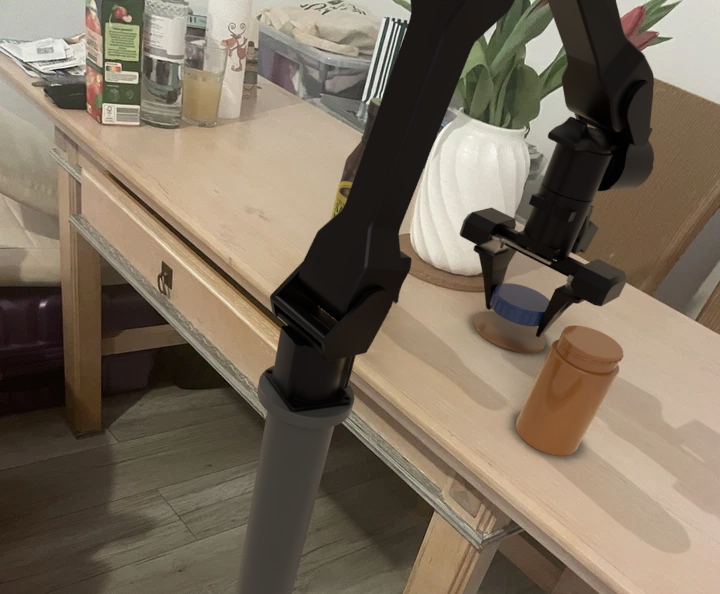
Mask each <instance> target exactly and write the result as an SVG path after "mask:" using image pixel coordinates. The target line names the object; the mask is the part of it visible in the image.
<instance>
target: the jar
mask: <svg viewBox="0 0 720 594" xmlns="http://www.w3.org/2000/svg"><path fill="white" fill-rule="evenodd" d="M624 356H625V355H624V350H623V347H622V346H621V345H620V343H619V342H617V340H615V339H614V338H612V337H611V336H609V335H608V334H606V333H604V332H602V331H600V330H597V329H594V328H592V327H588V326H583V325H568V326H566V327H565V328H563V330H562V332H561V334H560V336H559V338H558V339H556V340H554V341H553V342H552V343H551V345H550V347H549V349H548V351H547V353H546V355H545V358H544V360H543V363H542V364H541V367H540V369H539V371H538V374H537V376H536V378H535V380H534V382H533V385H532V386H531V388H530V391H529V393H528V395H527V397H526V400H525V401H524V403H523V406H522V408H521V410H520V412H519V415H518V417H517V418H516V421H515V429H516V432H517V434H518V436H519V437H520V438H521V439H522V440H523V441H524V442H525V443H526V444H528V445H529V446H531V447H532V448H534V449H536V450H538V451H540V452H542V453H546V454H548V455H553V456H570V455H572V454H574V453H575V452H576V451H577V450H578V448H579V447H580V445H581V443H582V441H583V439H584V437H585V435H586V433H587V432H588V430H589V428H590V426H591V424H592V422H593V421H594V418H595V417H596V415H597V413H598V412H599V409H600V408H601V406H602V404H603V402H604V400H605V398H606V396H607V395H608V393H609V392H610V390H611V387H612V386H613V384H614V382H615V381H616V379H617V376H618V375H619V373H620V366H619V363H620V362H622V360H623V358H624Z"/></svg>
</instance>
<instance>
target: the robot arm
mask: <svg viewBox="0 0 720 594" xmlns="http://www.w3.org/2000/svg"><path fill="white" fill-rule="evenodd" d="M515 1H516V0H410V17H409V20H408V23H407V27H406V29H405V32H404V35H403V38H402V41H401V43H400V47H399V50H398V52H397V55H396V58H395V61H394V64H393V65H392V70H391V72H390V75H389V77H388V81H387V83H386V86H385V90H384V92H383V95H382V101H381V104H380V106H379V109H378V112H377V115H376V118H375V121H374V124H373V126H372V129H371V132H370V135H369V138H368V141H367V143H366V146H365V149H364V152H363V155H362V158H361V161H360V163H359V166H358V169H357V172H356V175H355V178H354V181H353V183H352V186H351V189H350V192H349V195H348V198H347V201H346V203H345V205H344V207H343V209H342V210H341V211H340V212H339V213H338V214H337V215H335V216H334V217H333V218H332V219H331V218H330V219H331V220H330V219H329V221H327V222H326V223H325V224H324V225H323V226H322V227H320V228H319V229H318V230H317V232H316V234H315V236H314V238H313V240H312V242H311V244H310V246H309V249H308V250H307V252H306V255H305V256H304V258H303V260H302V261H301V263H300V264H298V266H296V268H295V269H294V270H293V271H292V272H291V273H290V274H289V275H288V276H287V277H286V278H285V279H284V280H283V281H282V282H281V283H280V285H278V287H277V288H275V290H274V291H273V292H272V293H271V294H270V295H269V301H270V307H271V313H272V315H274V316H275V317H276V318H278V319H280V320H281V321H282V322H283V323H284V324H286V325H281V326H280V330H279V337H278V343H277V347H276V354H275V360H274V365H273V366H274V369H268V368H266V369H264V371H265V373H264V376H265V377H266V379H267V380H268V381H269V383H270V384H271V385H272V387H273V388H274V390H275V391H276V392H277V394H278V395H279V396H280V398H281V399H282V401H283V402H284V403H285V405H286V406H287V407H288V409H289V410H290V411H292V412H302V411H309V410H316V409H323V408H330V407H338V406H345V405H350V404H351V400H352V399H351V397H350V396H349V395H348V394H347V393H346V391H345V390H344V389H345V388H347V387H348V384H349V383H350V380H351V376H352V372H353V368H354V365H355V361H356V356H359V355H362V354H366V353H368V351H369V349H370V347H371V345H372V343H373V342H374V340H375V338H376V336H377V334H378V333H379V331H380V329H381V327H382V326H383V323H384V322H385V320H386V318H387V317H388V314H389V313H390V310H391V308H392V306H393V303H394V304H398V303H399V300H400V293H401V289H402V286H403V284H404V282H405V280H406V278H407V277H408V275H409V273H410V271H411V269H412V258H411V257H410V256H409V255H407V253H405V252H403V251H402V250H401V244H400V230H401V227H402V225H403V222H404V219H405V217H406V214H407V212H408V209H409V207H410V204H411V203H412V200H413V197H414V194H415V192H416V189H417V187H418V184H419V181H420V179H421V177H422V174H423V172H424V169H425V167H426V165H427V162H428V160H429V156H430V154H431V151H432V149H433V146H434V144H435V143H436V139H437V137H438V134H439V131H440V129H441V127H442V124H443V121H444V119H445V117H446V114H447V111H448V109H449V106H450V104H451V102H452V99H453V96H454V93H455V92H456V89H457V86H458V84H459V82H460V79H461V76H462V75H463V71H464V69H465V66H466V64H467V62H468V58H469V56H470V54H471V51H472V49H473V47H474V45H475V43H476V42H477V41H478V40H479V39H480V38H481V37H482V36H484V34H486V33H487V32H488V31H489V30H490V29H491V28H492V27H493V26H494V25H495V24H497V22H498V21H500V20H501V19H502V18H503V17H504V16H505V15H506V14H507V13H508V12H509V11H510V10H511V8H513V5H514V3H515ZM547 3H548V6H549V9H550V11H551V14H552V17H553V20H554V23H555V26H556V28H557V31H558V34H559V38H560V41H561V43H562V46H563V49H564V52H565V55H566V61H567V63H566V65H565V67H564V70H563V71H562V73H561V85H562V90H563V95H564V96H563V97H564V102H565V106H566V108H567V110H568V111H570V112H571V113H574V114H573V115H574V116H575V117H573V116H569V117H568V118H567V119H566V120H565V121H564V122H562V123H561V124H559V125H556V126H555V127H553V128H552V129H551V130H550V131H549V132H548V134H547V138H548V139H549V140H550V141H553V142H554V143H555V146H554V149H553V152H552V154H551V157H550V160H549V162H548V164H547V166H546V170H545V173H544V175H543V177H542V180H541V183H540V185H539V188H538V191H537V193H533V194H531V196H530V200H529V202H528V205H530V206H531V209H530V212H529V214H528V217H527V220H526V222H525V225H524V227H523V230H521V231H518V230H516V227H517V222H516V221H517V220H516V218H515V217H513V216H510V215H508V214H506V213H504V212H502V211H500V210H498V209H496V208H494V207H488V208H483V209H479V210H475V211H472V212H470V213H468V214H467V215H466V217H465V218H464V219H463V221H462V224H461V228H460V231H459V236H460V237H461V238H462V239H465V240H466V241H468V242H470V243H472V244H475V245H474V246H473V252H474V253H476V254H478V258H479V263H480V269H481V273H482V278H483V279H482V280H483V289H484V290H483V291H484V302H485V309H486V310H488V311H490V310H493V309H492V308H491V306H490V299H491V297H492V294H493V291H494V290H495V288H496V286H497V285H499V284H503V282H504V279H505V276H506V274H507V270H508V268H509V267H508V266H509V265H510V263H511V261H512V260H513V258H514V256H515V255H516V254H517V252H518V253H520V254H522V255H524V256H526V257H527V258H529V259H531V260H533V261H535V262H537V263H539V264H541V265H543V266H545V267H547V268H549V269H551V270H553V271H555V272H557V273H559V274H561V275H563V276H565V277H566V278H567V279H566V283H565V284H563V285H561V286H559V287H556V288H555V289H554V291H553V293H552V295H551V298H550V299H549V300H550V302H549V304H548V306H547V308H546V311H545V313H544V315H543V317H542V319H541V321H540V324H539V326H537V333H536V336H537V337H540V336H542V335H544V334H545V333H546V332H547V331H548V329H550V328H551V327H552V325H553V324H554V323H555V322H556V321H557V320H558V319H559V318H560V317H561V316H562V315H563V314H564V313H565V311H566V310H567V309H569V308H570V307H571V306H572V305H573V304H576V305H577V304H581V303H583V302H584V301H585V302H587V303H589V304H590V305H593V306H597V307H603V306H605V305H606V304H608V303H611V302H612V301H614V300H616V299H618V298H619V297H620V296H621V293H622V292H623V290H624V288H625V286H626V283H627V276H626V271H624V270H622V269H620V268H618V267H616V266H613V265H612V264H611V263H607V262H605V261H603V260H601V259H599V258H596V259H594V260H592V261H589V262H586V263H583V262H581V261H580V260H577V259H576V258H574V257H571V256H570V254H571V253H572V254H573V255H576V254H578V253H582V254H586V252H587V250H588V248H589V247H590V245H591V243H592V241H593V239H594V238H595V236H596V235H597V232H598V231H599V229H600V228H599V227H598V225H596V224H595V223H594V222H593V221H591V220H590V219H591V216H592V214H593V210H594V207H595V206H594V205H592V204H593V202H594V200H595V197H596V194H597V192H610V191H611V192H612V191H628V190H634V189H636V188H639V187H640V186H641V185H643V184H645V182H646V181H647V180H648V178H649V177H650V175H651V174H652V173H653V169H654V162H655V152H654V148H653V145H652V143H651V142H650V136H651V134H652V131H653V127H652V126H651V121H652V109H653V100H654V86H655V78H654V72H653V69H652V67H651V65H650V63H649V61H648V59H647V58H646V57H647V56H646V55H645V53H644V52H642V50H641V49H639V48H638V46H636V45H635V44H634V43H633V42H632V41H631V40H630V39H629V38H628V36H627V34H626V33H625V31H624V27H623V23H622V20H621V19H622V18H621V14H620V11H619V7H618V3H617V0H547ZM349 385H350V384H349Z"/></svg>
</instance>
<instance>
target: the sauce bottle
mask: <svg viewBox="0 0 720 594" xmlns="http://www.w3.org/2000/svg"><path fill="white" fill-rule="evenodd" d="M382 98H383V97H382ZM382 98H381V97H371V98H370V100H369V102H368V107H367V109H366V111H367V112H366V113H367V117H366V122H365V126H364V129H363V134H362V135H361V140H360V142H359V143H358V144H357V145H356V147H355V148H354V149H353V150H352V152H350V154H349V155H348V156H347V158H346V160H345V163H344V167H343V171H342V173H341V179H340V181H339V184H338V186H337V190H336V193H335V198H334V201H333V207H332V210H331V215H330V219H329V221H330V220H331V219H332V218H333V217H334V216H335V215H337V214H338V213H339V212H340V211H341V210H342V209H343V207H344V205H345V203H346V201H347V198H348V195H349V192H350V189H351V186H352V183H353V181H354V178H355V175H356V172H357V169H358V166H359V163H360V161H361V158H362V155H363V152H364V149H365V146H366V143H367V141H368V138H369V135H370V132H371V129H372V126H373V124H374V121H375V118H376V115H377V112H378V109H379V106H380V104H381V101H382Z"/></svg>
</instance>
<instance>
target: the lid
mask: <svg viewBox="0 0 720 594" xmlns="http://www.w3.org/2000/svg"><path fill="white" fill-rule="evenodd" d="M550 300H551V299H549V298H548V297H547V296H546V295H544V294H543V293H541V292H539V291H537V290H535V289H533V288H532V287H528V286H526V285H522V284H517V283H511V282H504V283H502V284H499V285H497V286H496V288H495V290H494V291H493V294H492V297H491V299H490V306H491V308H492V309H491V310H493V312H496V313H497V314H498V315H500V316H501V317H503V318H505V319H507V320H509V321H511V322H514V323H517V324H520V325H524V326H532V327H538V326H539V324H540V321H541V319H542V317H543V315H544V313H545V311H546V308H547V306H548V304H549V302H550Z"/></svg>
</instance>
